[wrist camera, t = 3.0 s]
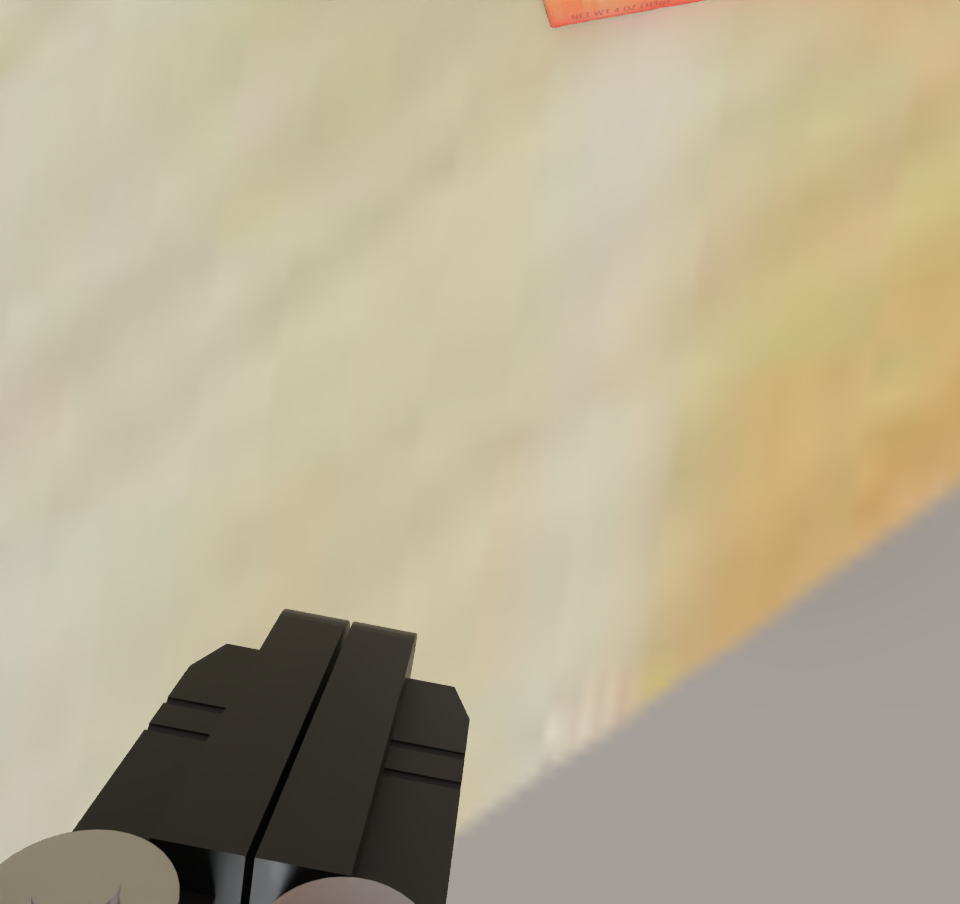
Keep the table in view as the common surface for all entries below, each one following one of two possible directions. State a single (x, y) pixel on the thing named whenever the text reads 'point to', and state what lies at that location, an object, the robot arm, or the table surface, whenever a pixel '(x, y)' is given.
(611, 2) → the cracker box
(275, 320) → the table surface
